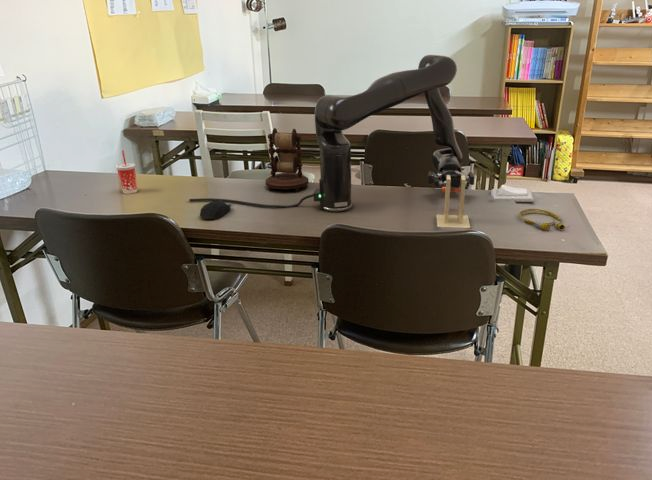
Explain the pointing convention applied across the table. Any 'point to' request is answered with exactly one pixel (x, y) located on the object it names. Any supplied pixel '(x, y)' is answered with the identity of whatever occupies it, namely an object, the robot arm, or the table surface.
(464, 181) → the bracket
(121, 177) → the beverage cup
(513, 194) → the light switch
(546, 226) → the extension cord
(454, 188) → the lever
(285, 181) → the brown spool stand
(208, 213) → the gaming mouse
